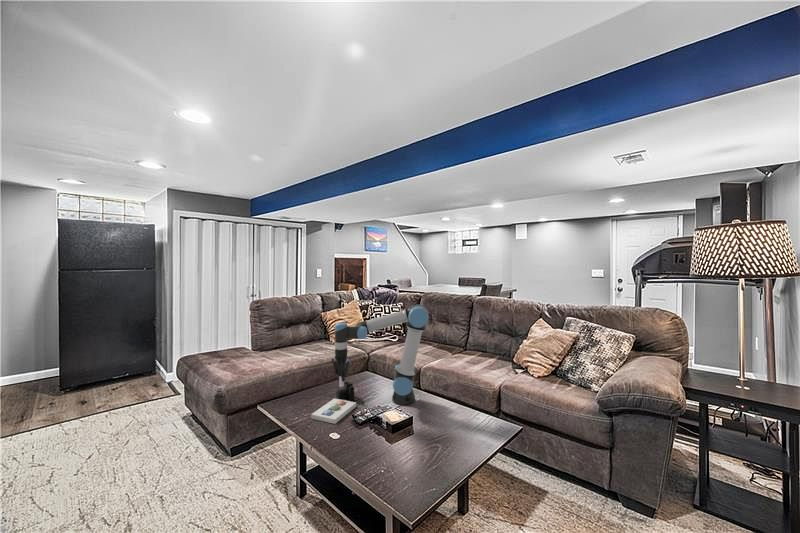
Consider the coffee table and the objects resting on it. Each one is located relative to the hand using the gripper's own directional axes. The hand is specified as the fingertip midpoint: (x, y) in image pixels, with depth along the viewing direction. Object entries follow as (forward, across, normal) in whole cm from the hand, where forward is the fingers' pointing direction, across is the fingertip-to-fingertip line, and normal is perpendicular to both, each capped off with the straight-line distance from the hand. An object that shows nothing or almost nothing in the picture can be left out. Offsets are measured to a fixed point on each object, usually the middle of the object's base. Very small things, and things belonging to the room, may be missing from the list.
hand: (341, 386), depth 207 cm
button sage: (+12, 0, +7) cm, 14 cm away
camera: (+14, +5, -12) cm, 19 cm away
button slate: (+13, 0, +14) cm, 19 cm away
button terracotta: (+13, 0, 0) cm, 13 cm away
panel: (+13, 0, +7) cm, 15 cm away
